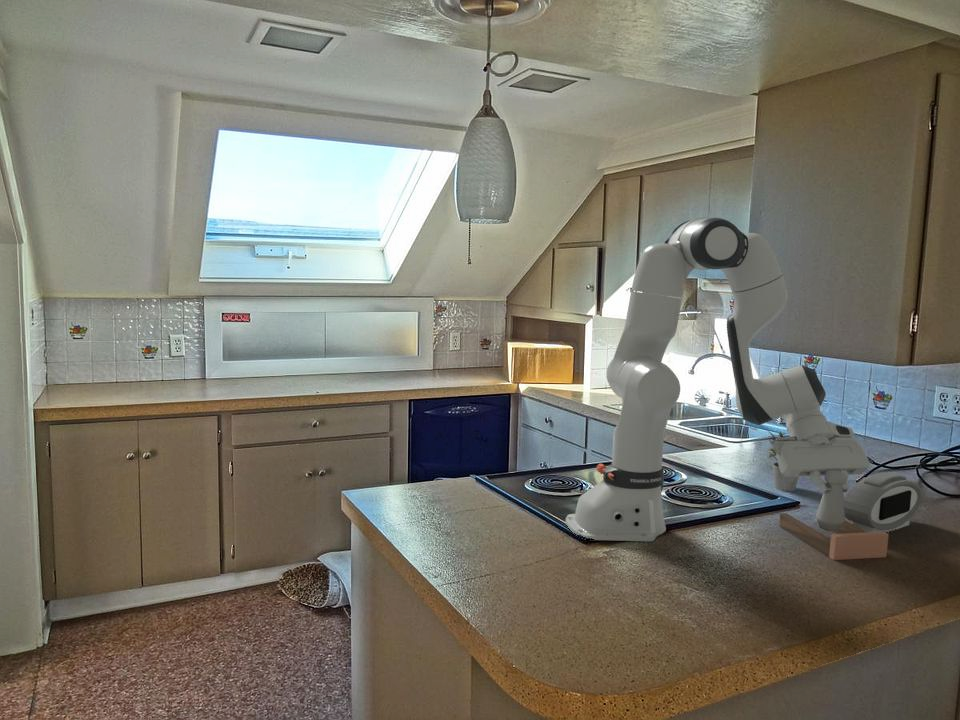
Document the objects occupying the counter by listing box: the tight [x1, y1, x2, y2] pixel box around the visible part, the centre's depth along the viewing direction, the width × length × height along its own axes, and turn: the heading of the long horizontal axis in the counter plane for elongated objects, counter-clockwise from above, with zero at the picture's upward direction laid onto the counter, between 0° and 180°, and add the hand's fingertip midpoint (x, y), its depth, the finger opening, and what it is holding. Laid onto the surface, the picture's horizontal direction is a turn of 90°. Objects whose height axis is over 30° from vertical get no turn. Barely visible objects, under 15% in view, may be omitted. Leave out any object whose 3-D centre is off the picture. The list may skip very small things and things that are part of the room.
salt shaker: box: [815, 470, 848, 533], centre depth 161 cm, size 6×6×13 cm
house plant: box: [762, 428, 799, 492], centre depth 199 cm, size 14×14×16 cm
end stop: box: [828, 531, 889, 561], centre depth 153 cm, size 12×2×5 cm, turn 100°
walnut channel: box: [778, 512, 866, 558], centre depth 163 cm, size 12×18×3 cm
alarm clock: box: [844, 472, 923, 533], centre depth 170 cm, size 23×6×13 cm, turn 123°
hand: (835, 491), depth 160 cm, fingers closed on salt shaker, 3 cm apart
